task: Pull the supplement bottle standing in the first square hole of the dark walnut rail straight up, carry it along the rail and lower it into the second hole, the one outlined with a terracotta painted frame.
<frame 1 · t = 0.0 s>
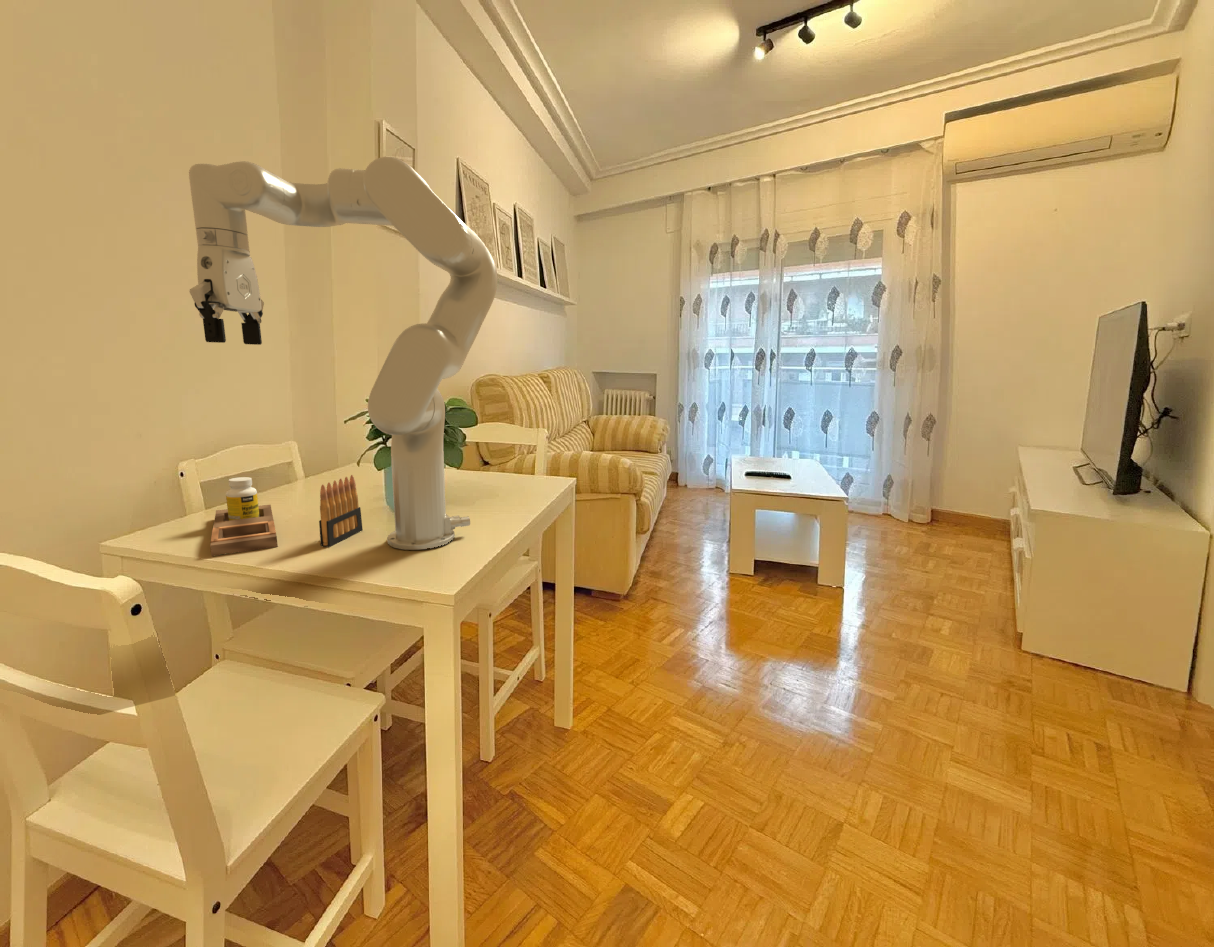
hand: (235, 343, 97), 37 cm above the table, tool pointing down, fingers open, 9 cm apart
ammunition clip: (342, 539, 105), on the table
hole rail: (245, 531, 107), on the table
supplement bottle: (245, 524, 112), resting in hole rail
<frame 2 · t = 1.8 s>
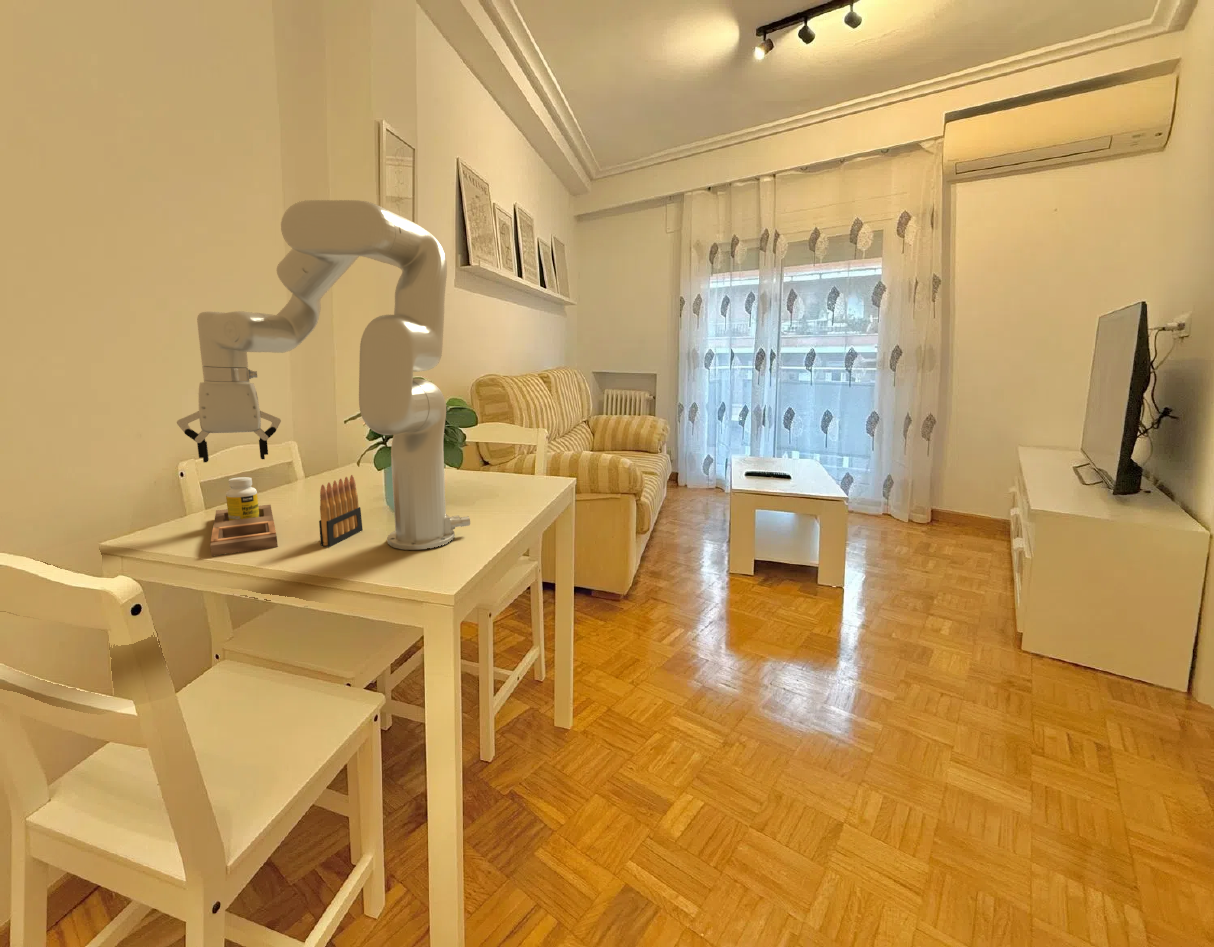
hand: (235, 459, 109), 14 cm above the table, tool pointing down, fingers open, 9 cm apart
nothing on the table moved.
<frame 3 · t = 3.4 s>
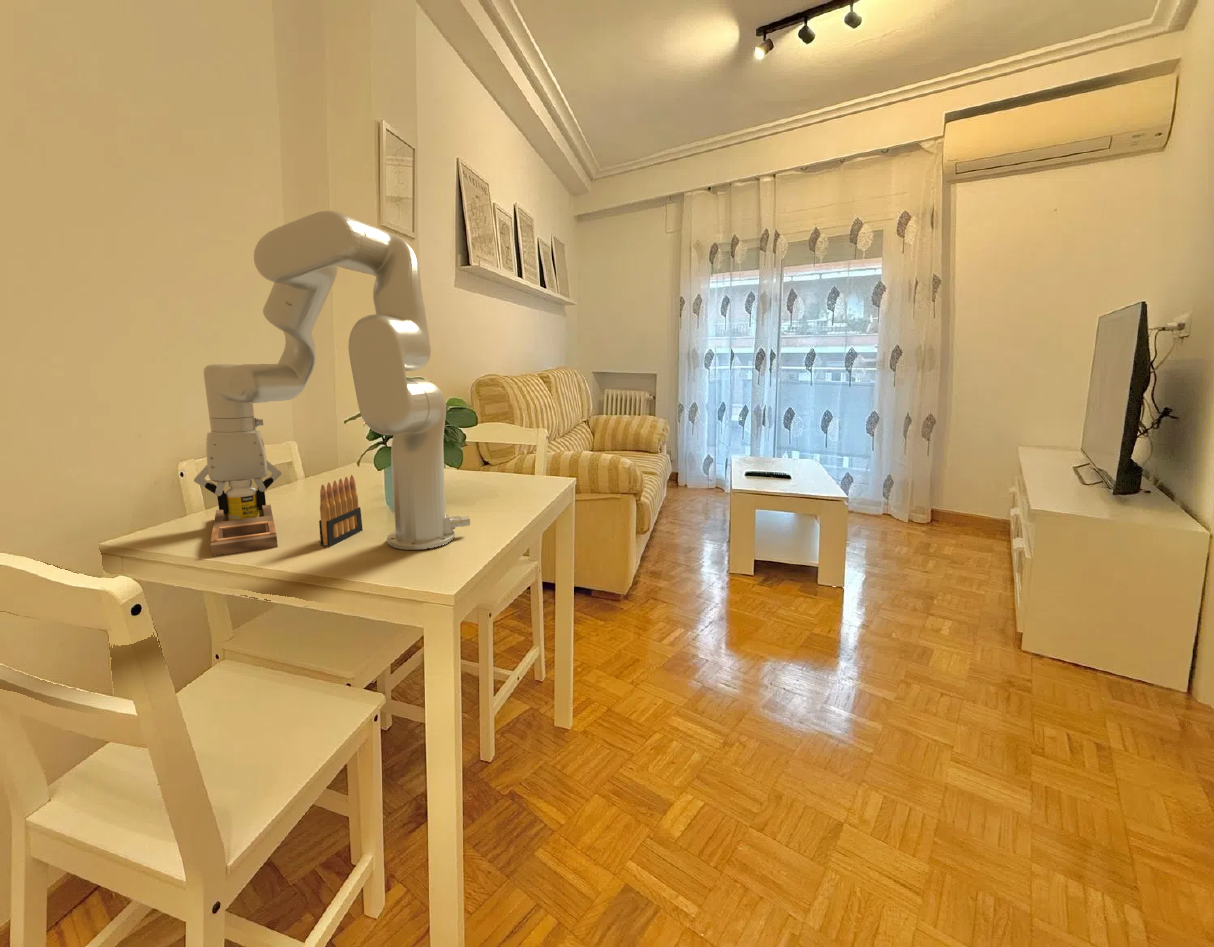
hand: (243, 509, 111), 3 cm above the table, tool pointing down, fingers closed on supplement bottle, 5 cm apart
supplement bottle: (245, 524, 112), resting in hole rail, touching gripper
everything else where it was.
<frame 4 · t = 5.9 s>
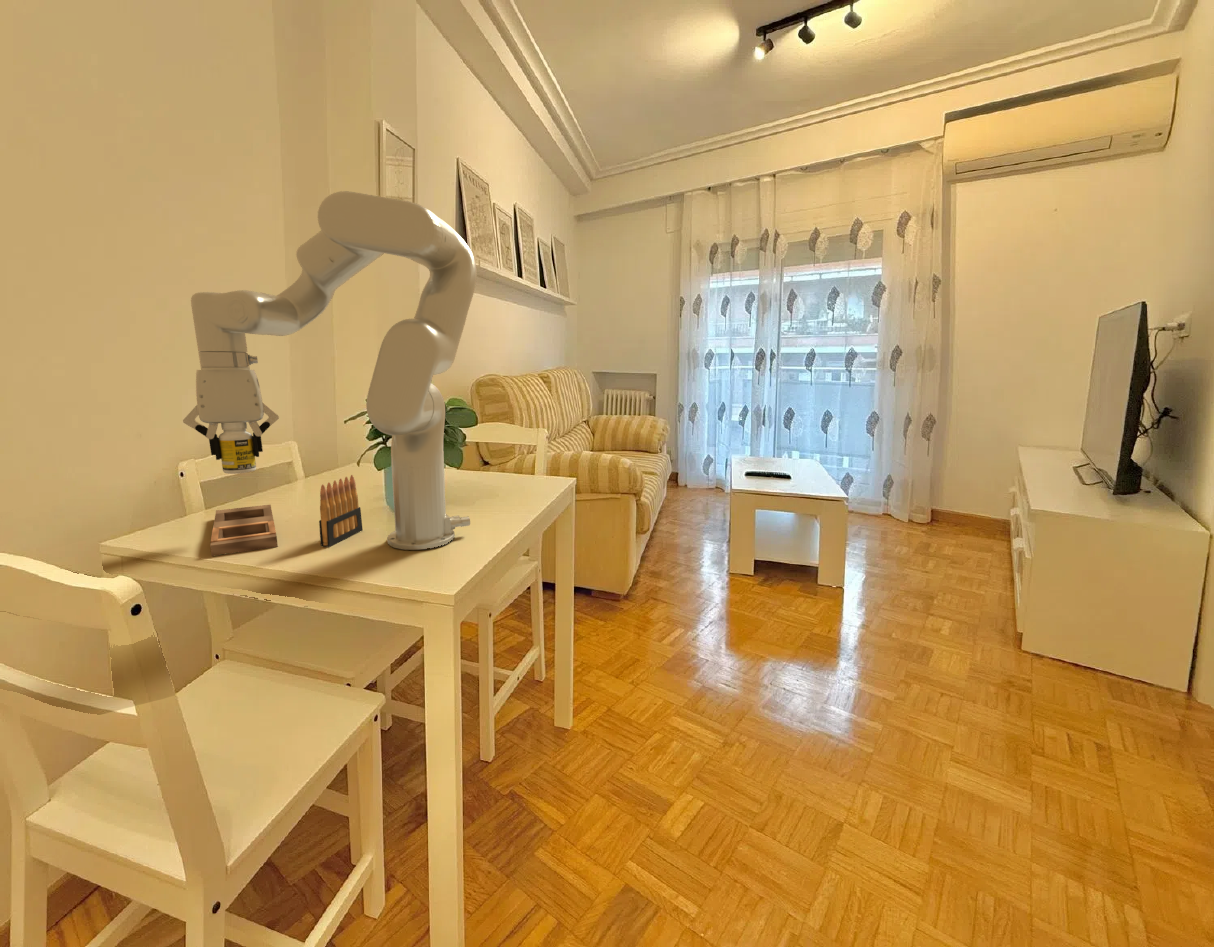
hand: (238, 456, 102), 16 cm above the table, tool pointing down, fingers closed on supplement bottle, 5 cm apart
supplement bottle: (240, 472, 103), point 13 cm above the table, touching gripper
everything else where it was.
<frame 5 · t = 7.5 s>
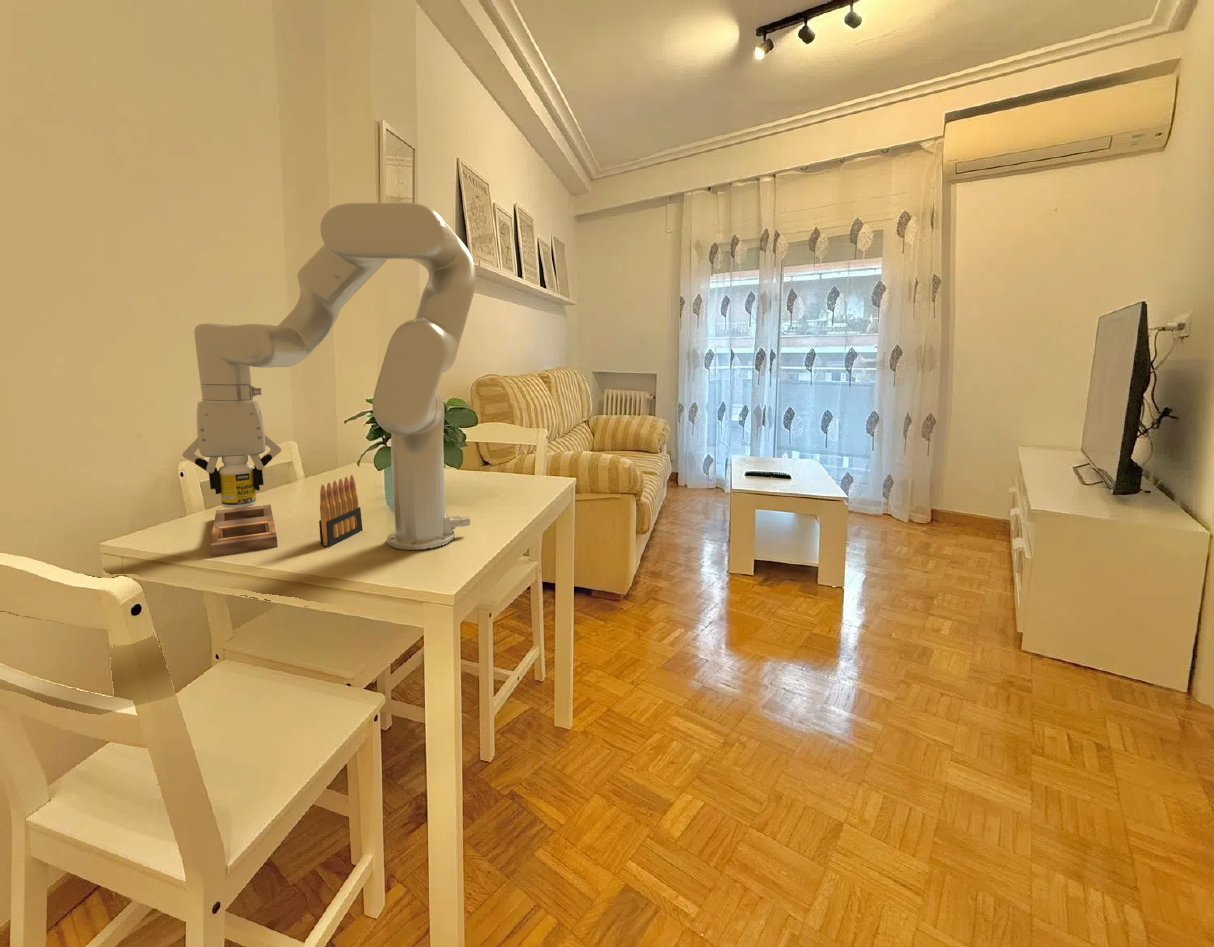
hand: (238, 489, 99), 10 cm above the table, tool pointing down, fingers closed on supplement bottle, 5 cm apart
supplement bottle: (240, 506, 100), point 7 cm above the table, touching gripper
everything else where it was.
when the fingers open (4 cm above the table, at t = 8.9 s): supplement bottle drops 1 cm, resting in hole rail.
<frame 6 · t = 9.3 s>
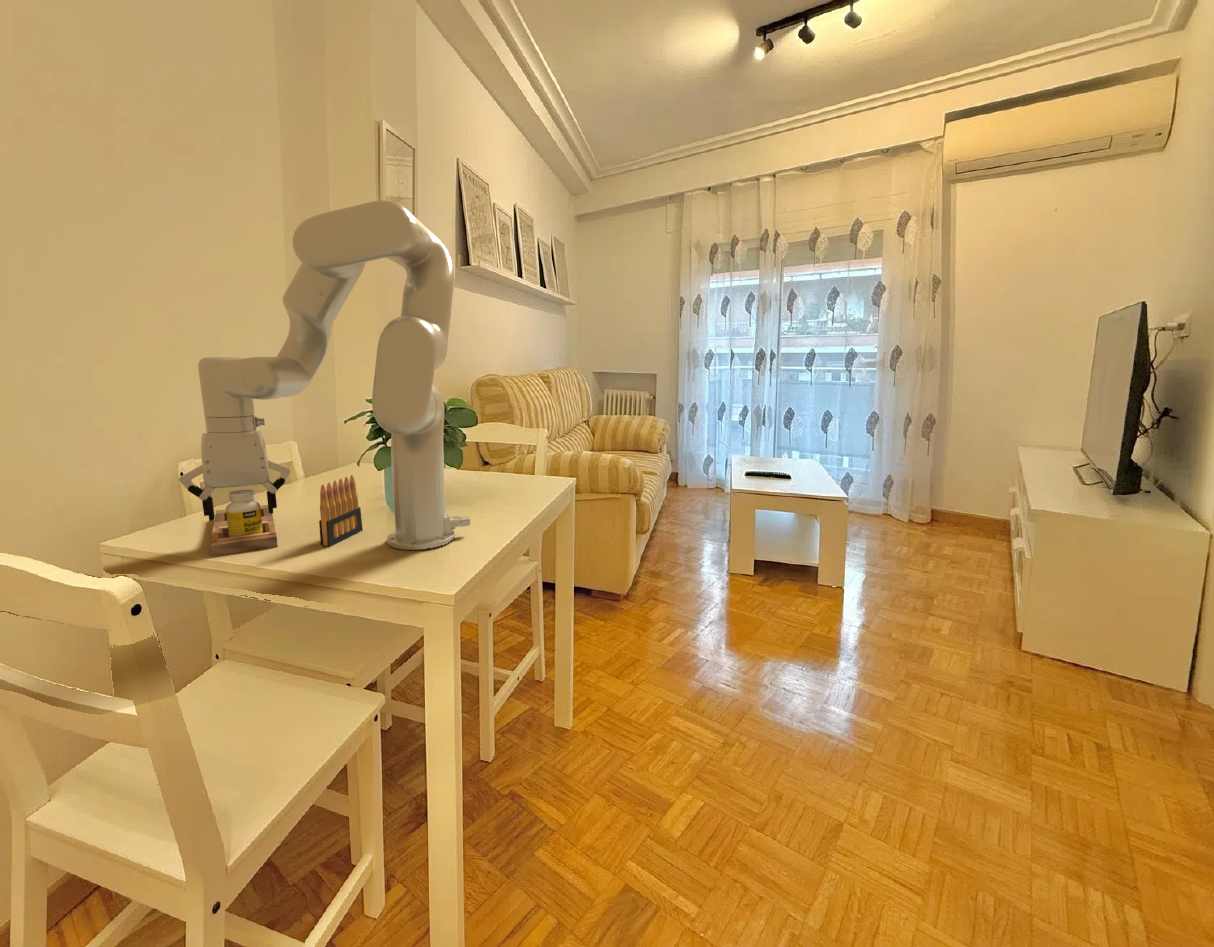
hand: (242, 515, 100), 5 cm above the table, tool pointing down, fingers open, 9 cm apart
supplement bottle: (247, 542, 101), resting in hole rail
everything else where it was.
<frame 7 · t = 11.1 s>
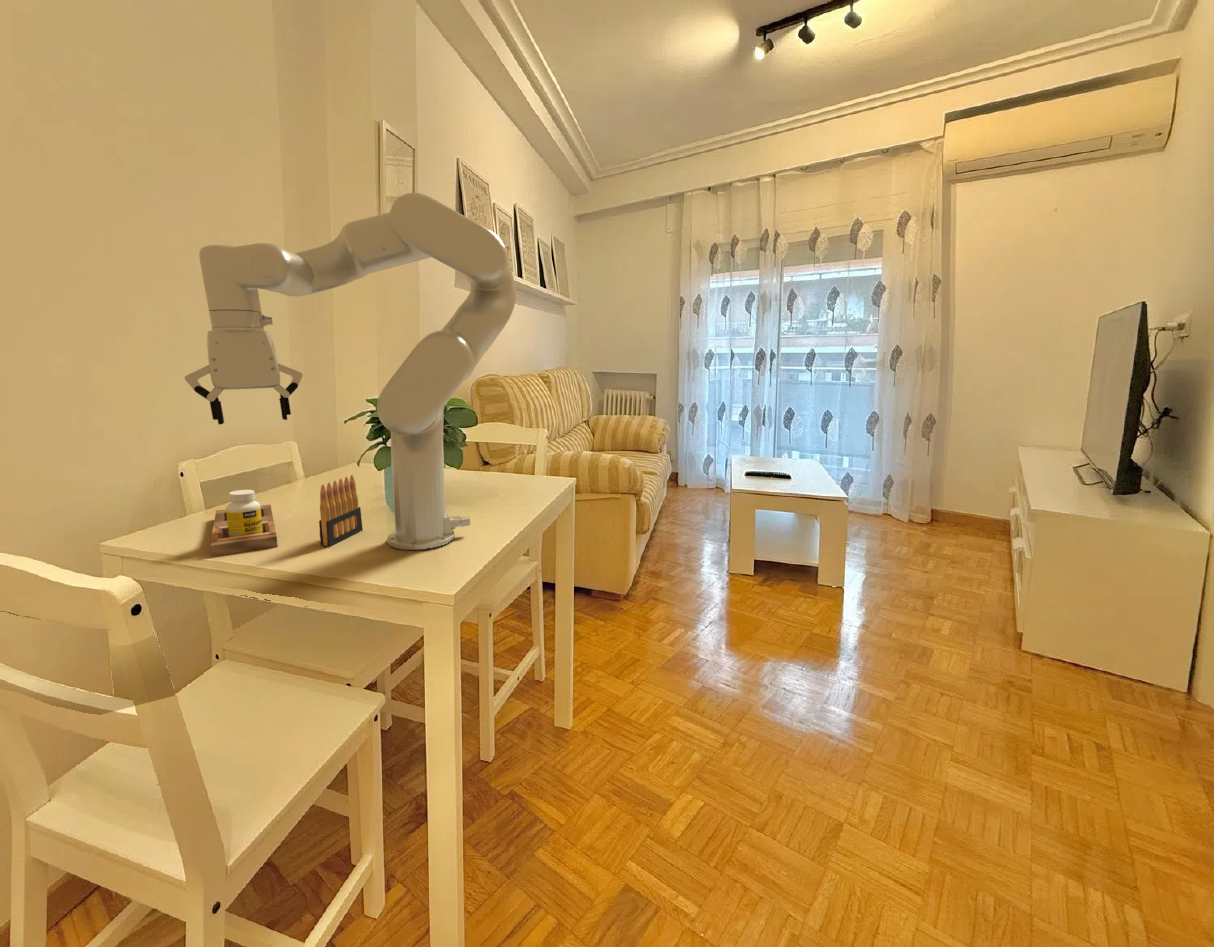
hand: (254, 421, 95), 24 cm above the table, tool pointing down, fingers open, 9 cm apart
nothing on the table moved.
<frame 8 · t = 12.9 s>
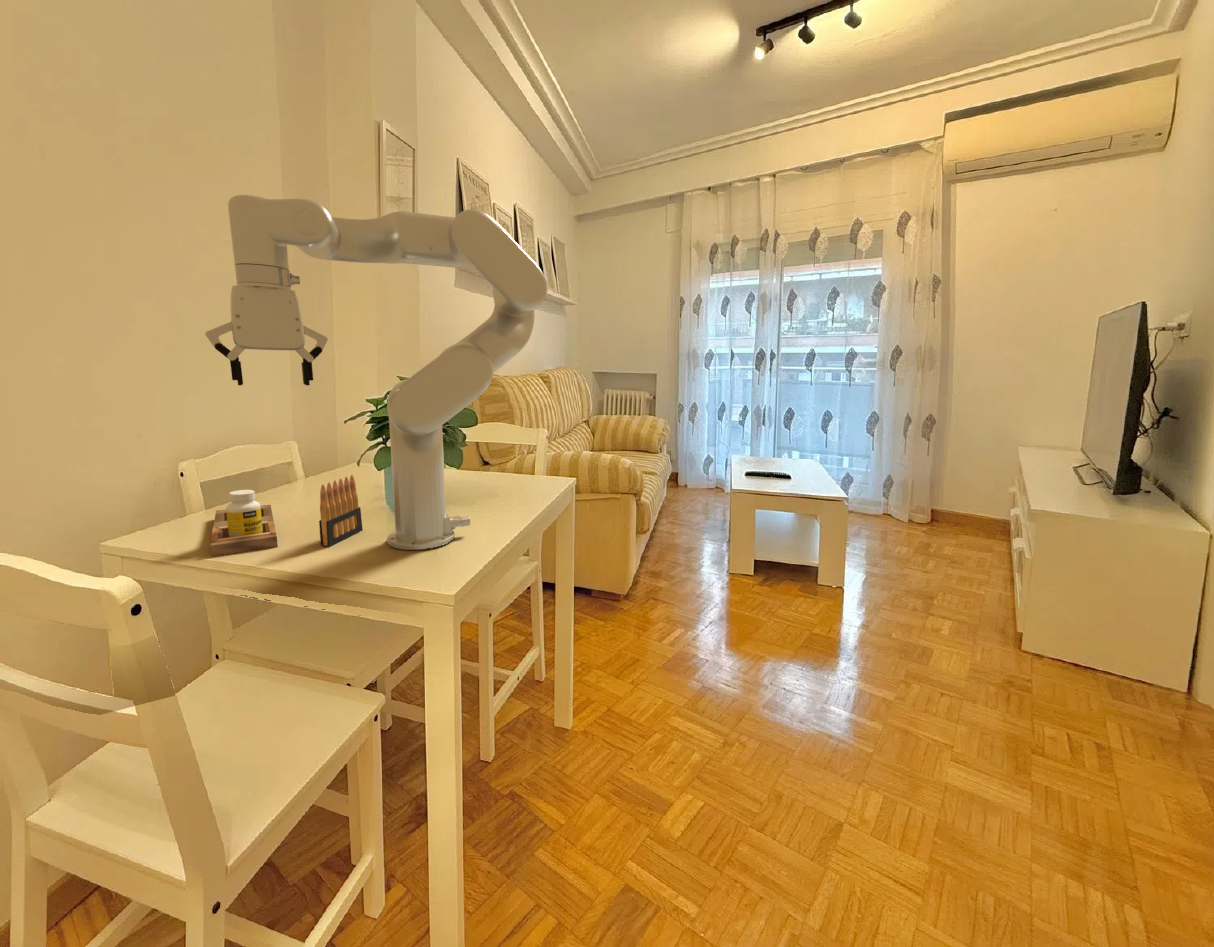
hand: (274, 384, 90), 30 cm above the table, tool pointing down, fingers open, 9 cm apart
nothing on the table moved.
at the end: supplement bottle 0.3 cm from the target spot on the hole rail, point 0.0 cm above the hole rail's base; supplement bottle tilted 0°; the gripper is holding nothing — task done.
